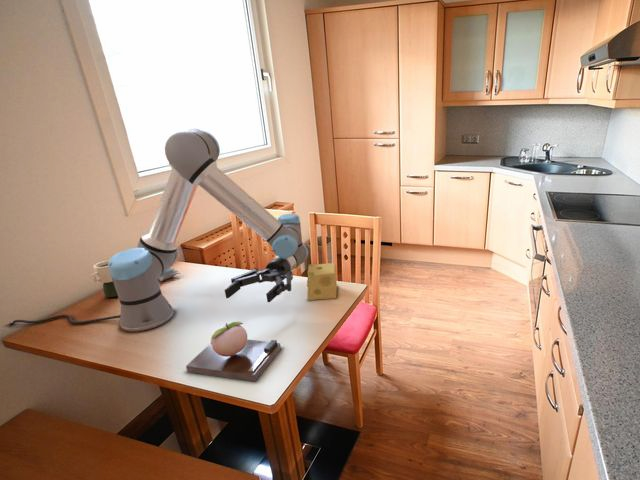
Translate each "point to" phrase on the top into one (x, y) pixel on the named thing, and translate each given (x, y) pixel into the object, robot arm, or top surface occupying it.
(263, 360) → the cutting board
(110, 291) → the character mug
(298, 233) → the robot arm
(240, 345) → the decorative fruit
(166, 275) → the packaged food
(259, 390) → the top surface
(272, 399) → the top surface
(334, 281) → the cheese
